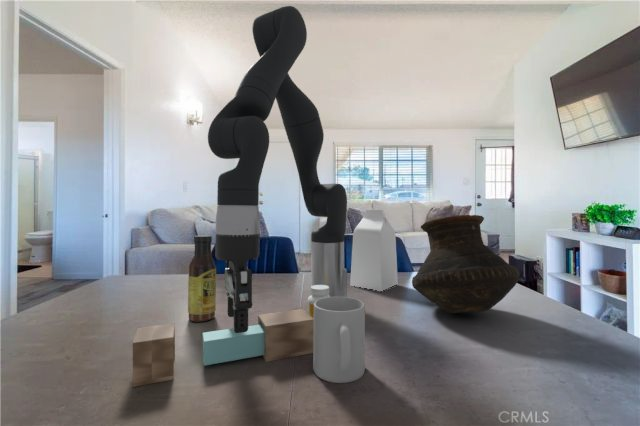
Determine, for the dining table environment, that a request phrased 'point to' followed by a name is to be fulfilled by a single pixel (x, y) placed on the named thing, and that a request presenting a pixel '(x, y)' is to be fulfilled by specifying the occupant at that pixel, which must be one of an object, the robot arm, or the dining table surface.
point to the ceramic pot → (462, 267)
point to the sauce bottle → (202, 282)
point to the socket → (154, 354)
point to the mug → (339, 339)
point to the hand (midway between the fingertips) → (237, 323)
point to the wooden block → (287, 334)
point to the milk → (374, 253)
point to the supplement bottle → (316, 297)
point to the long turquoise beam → (233, 344)
